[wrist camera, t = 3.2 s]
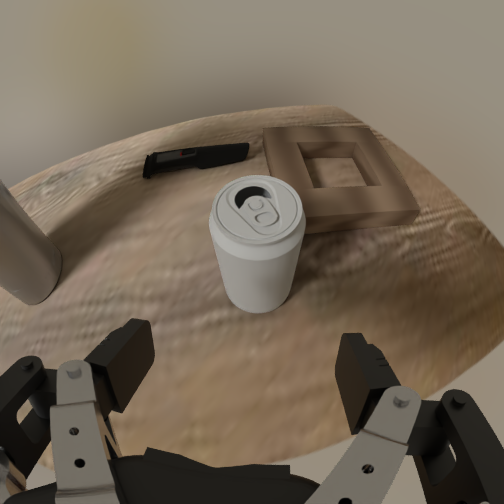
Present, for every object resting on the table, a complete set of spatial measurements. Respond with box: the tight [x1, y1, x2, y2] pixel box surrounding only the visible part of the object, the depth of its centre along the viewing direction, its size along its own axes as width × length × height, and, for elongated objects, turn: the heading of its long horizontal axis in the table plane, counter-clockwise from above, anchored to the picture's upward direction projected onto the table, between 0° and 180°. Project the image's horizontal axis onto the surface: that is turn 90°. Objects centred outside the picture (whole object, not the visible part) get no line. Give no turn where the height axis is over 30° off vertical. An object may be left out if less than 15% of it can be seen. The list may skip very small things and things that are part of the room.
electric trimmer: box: [143, 143, 249, 179], centre depth 36 cm, size 4×16×3 cm, turn 96°
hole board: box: [263, 126, 420, 234], centre depth 33 cm, size 17×17×3 cm
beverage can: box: [209, 175, 306, 313], centre depth 22 cm, size 6×6×12 cm
